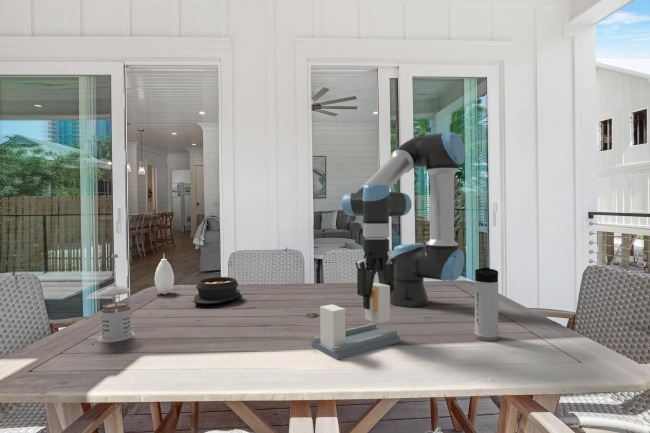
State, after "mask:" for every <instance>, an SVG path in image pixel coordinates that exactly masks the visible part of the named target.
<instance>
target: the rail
mask: <svg viewBox="0 0 650 433" xmlns="http://www.w3.org/2000/svg"><path fill="white" fill-rule="evenodd" d="M319 311H320V312H319V319H320V321H319V326H320V327H319V329H320V330H319V333H320V334H319V335H317V336H314V337H312V338H313V340H311V342H310V343H311V347H312V346H313V347H312V348H315V349H316V350H318V351H320V352H321V353H324V354H325V355H328V356H329V357H331V358H333V359H335V360H336V361H338V360H343V359H345V358H348V357H352V356H355V355H359V354H363V353H366V352H370V351H373V349H374V350H376V349H380V348H384V347H387V346H390V345H394V344H398V343H400V342H401V337H400V336H399V335H398V331H396V330H392V331H389V332H388V331H385V330H382V329H380V328H378V327H377V323H375V322H372V323H367V324H365V325H364V324H363V325H361V326H355V327H352V328H347V311H346V308H345V307H341V306H339V305H336V304H327V305H321V306H319ZM397 342H398V343H397ZM369 350H370V351H369Z"/></svg>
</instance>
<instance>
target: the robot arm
mask: <svg viewBox="0 0 650 433" xmlns="http://www.w3.org/2000/svg"><path fill="white" fill-rule="evenodd" d="M465 158H466V152H465V146H464V142H463V140H462V138H461V136H460V134H458V133H456V132H442V133H434V134H428V135H427V134H426V135H420V136H419V135H418V136H415V137H413V138H411V139H409V140H407V141H405V142H404V143H402V144H401V145H399V146H398V147H397V148H396V149H395V150H394V151H393V152H392V153H391V154H390V157H389V159H388V160H387V161H386V163H384V164H383V165H382V166H381V167H380V169H378V170H377V172H375V173H374V174H373V175H372V176H371V177H369V179H368V180H367V181H366V182H364V184H363V185H362V186H361V187H360V188H359V189H358V190H357V191H356V192H350V193H346V194H344V195H343V197H342V198H341V199H342V200H341V208H342V211H343V213H344V214H345V215H347V216H352V217H353V216H354V217H362V219H363V220H362V236H363V237H364V238H363V240H362V251H363V253H364V255H363V258H362V259H361V260H356V261H355V266H356V270H357V271H356V275H357V276H356V286H357V288H356V291H357V292H356V293H357V295H358V296H360V297H362V301H363V302H362V303H363V304H362V305H363V309H364V320H367V321H370V322H374V320H373V298H372V297H371V293H372V287H373V283H374V280H375V277H376V276H375V275H376V274H377V277H378V283H381V284H385V285H390V305H391V304H392V305H394V306H397V307H398V306H400V307H406V308H407V307H408V308H410V307H411V308H416V307H423V306H424V307H425V306H427V305H428V304H429V296H428V295H427V290H426V287H425V282H424V279H430V280H431V279H432V280H438V281H443V282H445V281H446V282H447V281H448V282H454V281H456V280H458V279H459V278H460V276H461V274H462V273H463V269H464V265H465V255H464V251H463V250H461V249H459V243H458V242H457V241H456V240H455V226H454V225H455V174H456V173H457V172H458V171H459V166H460V165H461V164H463V163H464V161H465ZM420 167H422V168H423V167H425V171H426V173H428V174H429V240H427V241H426V242H425V245H424V243H423V242H419V243H417V242H416V243H407V244H400V245H396V246H394V247H393V254H392V255H393V256H392V257H390V256H389V254H388V252H389V251H390V239H389V237H390V217H392V218H393V217H396V218H397V217H399V218H400V217H404V216H406V215H407V214H409V212H410V211H411V209H412V205H413V204H412V200H411V197H410V196H409V194H407V193H404V192H401V191H390V189H391V188H392V187H393V186H394V185H395V184H396V183H397V182H398V180H400V179H401V178H402V177H403V175H405V174H406V173H409V172H411V171H412V170H413V169H416V168H420Z"/></svg>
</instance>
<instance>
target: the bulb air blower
mask: <svg viewBox="0 0 650 433" xmlns="http://www.w3.org/2000/svg"><path fill="white" fill-rule="evenodd" d="M162 255H163V258H162V259H160V262H159V264H158V265H157V266H156V270H155V274H154V285H155V288H156V291H158V293H159V292H160V294H162V295H166V294H167V295H168V293H170V292H171V291H172V290H173V287H174V283H175V275H174V270H173V268H172V266H171V263H170V262H168V259H167V258H165V253H163V254H162Z"/></svg>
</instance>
